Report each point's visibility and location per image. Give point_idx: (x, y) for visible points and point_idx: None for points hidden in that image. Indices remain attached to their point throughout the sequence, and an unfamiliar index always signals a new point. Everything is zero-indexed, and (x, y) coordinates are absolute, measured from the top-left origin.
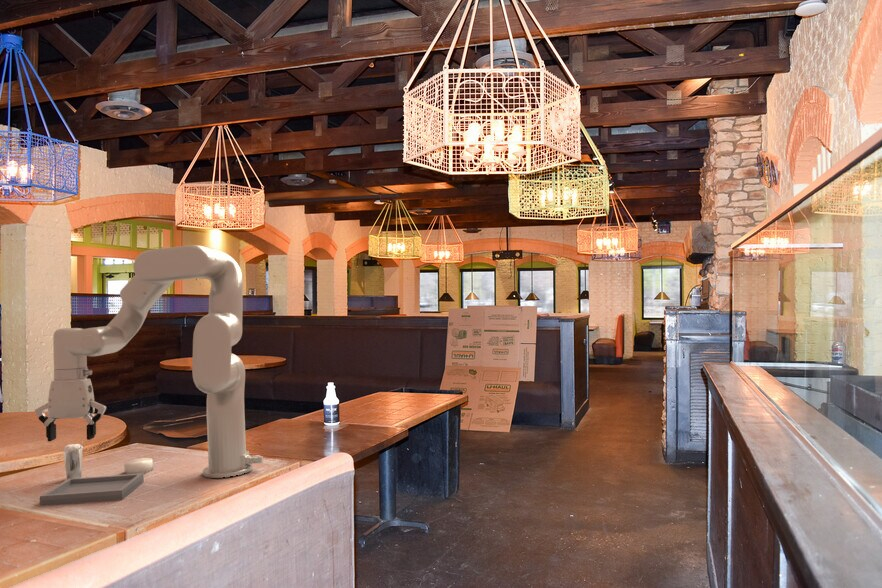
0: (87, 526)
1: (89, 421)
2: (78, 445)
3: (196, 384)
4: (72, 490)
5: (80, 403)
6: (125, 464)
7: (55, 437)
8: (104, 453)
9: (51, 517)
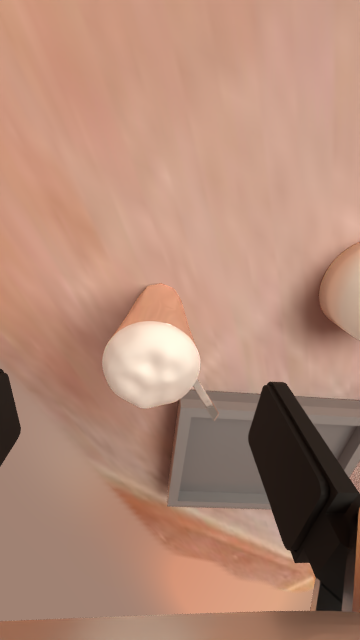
0: (275, 559)
1: (333, 603)
2: (184, 381)
3: None
4: (214, 458)
5: None
6: (345, 329)
7: (3, 387)
8: None
9: (213, 528)
